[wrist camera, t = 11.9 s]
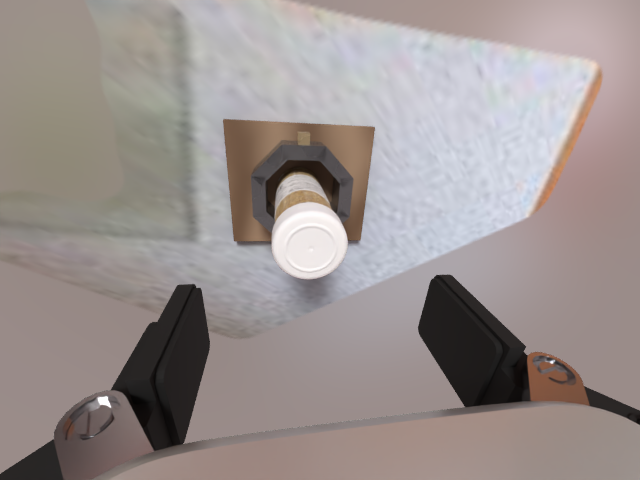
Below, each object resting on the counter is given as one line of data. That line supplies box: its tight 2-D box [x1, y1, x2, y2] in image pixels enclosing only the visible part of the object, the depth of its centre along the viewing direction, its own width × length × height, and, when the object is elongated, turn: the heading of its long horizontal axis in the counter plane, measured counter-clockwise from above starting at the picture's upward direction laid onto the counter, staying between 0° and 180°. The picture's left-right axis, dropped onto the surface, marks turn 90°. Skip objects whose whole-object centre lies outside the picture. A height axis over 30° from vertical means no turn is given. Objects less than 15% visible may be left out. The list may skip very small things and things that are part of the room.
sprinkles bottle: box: [272, 167, 348, 279], centre depth 22 cm, size 5×5×13 cm
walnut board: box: [223, 119, 375, 241], centre depth 28 cm, size 14×12×1 cm
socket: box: [251, 132, 354, 233], centre depth 26 cm, size 9×11×4 cm
